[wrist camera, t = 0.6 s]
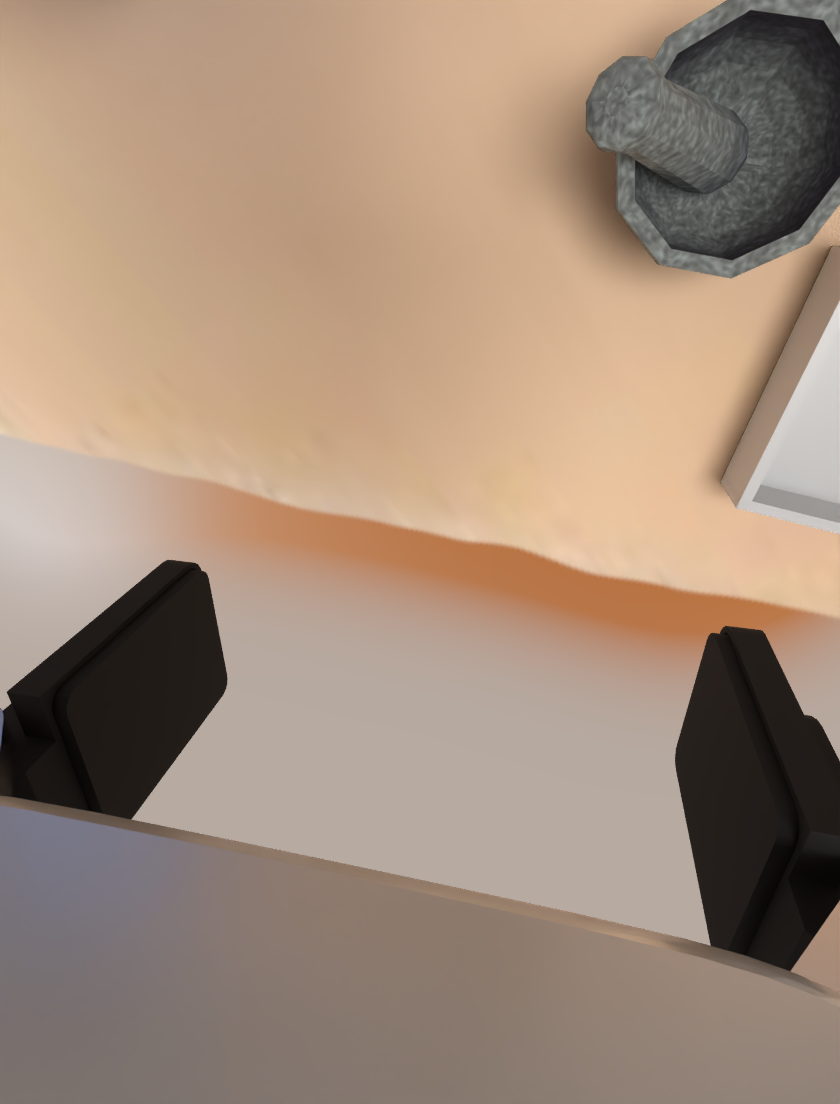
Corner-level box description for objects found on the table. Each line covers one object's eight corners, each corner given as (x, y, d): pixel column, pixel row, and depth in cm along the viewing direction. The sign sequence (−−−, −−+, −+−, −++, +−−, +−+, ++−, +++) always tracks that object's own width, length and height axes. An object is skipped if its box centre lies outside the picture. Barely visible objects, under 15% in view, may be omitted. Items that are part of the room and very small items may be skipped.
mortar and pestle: (858, 58, 27) (1037, -48, 17) (766, 281, 32) (862, 306, 21) (609, 21, 28) (633, -98, 18) (555, 242, 33) (550, 247, 23)
